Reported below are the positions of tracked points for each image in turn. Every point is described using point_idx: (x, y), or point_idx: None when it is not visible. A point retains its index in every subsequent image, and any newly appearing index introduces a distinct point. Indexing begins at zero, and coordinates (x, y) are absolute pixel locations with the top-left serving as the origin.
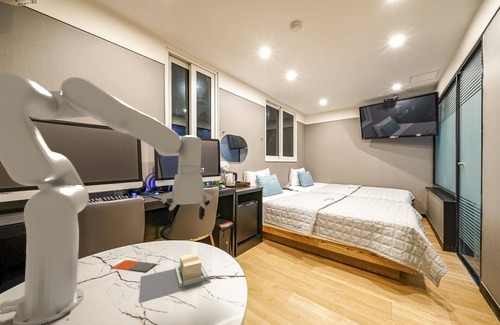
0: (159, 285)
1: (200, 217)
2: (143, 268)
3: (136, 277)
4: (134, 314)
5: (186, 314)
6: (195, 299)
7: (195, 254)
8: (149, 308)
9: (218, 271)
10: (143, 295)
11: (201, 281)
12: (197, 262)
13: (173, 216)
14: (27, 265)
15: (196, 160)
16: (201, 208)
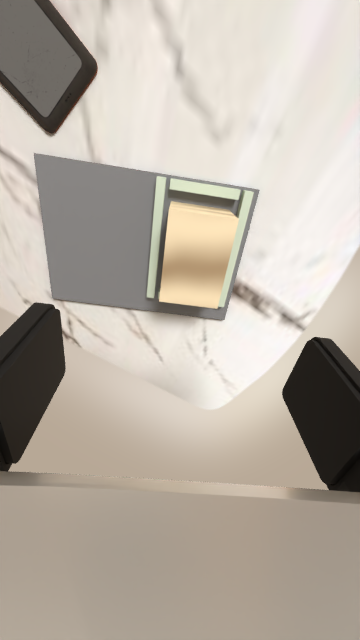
0: (98, 255)
1: (292, 394)
2: (32, 76)
3: (19, 135)
4: None
5: (142, 367)
6: (169, 343)
7: (231, 232)
8: (78, 318)
9: (276, 276)
10: (59, 275)
11: None
12: (207, 300)
13: (38, 413)
14: None
15: None
16: (341, 481)
